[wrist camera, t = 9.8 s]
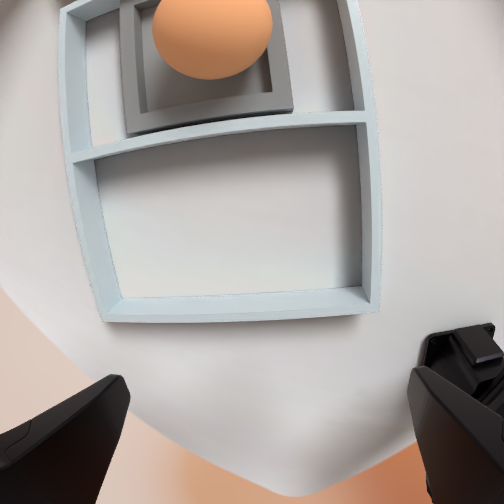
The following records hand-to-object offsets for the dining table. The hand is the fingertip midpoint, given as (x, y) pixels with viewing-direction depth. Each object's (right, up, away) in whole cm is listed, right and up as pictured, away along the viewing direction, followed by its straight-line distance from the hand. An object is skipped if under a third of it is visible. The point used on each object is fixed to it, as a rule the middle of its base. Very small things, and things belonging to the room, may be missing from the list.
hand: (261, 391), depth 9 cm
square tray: (-3, +16, +8) cm, 18 cm away
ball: (-3, +16, +7) cm, 18 cm away
